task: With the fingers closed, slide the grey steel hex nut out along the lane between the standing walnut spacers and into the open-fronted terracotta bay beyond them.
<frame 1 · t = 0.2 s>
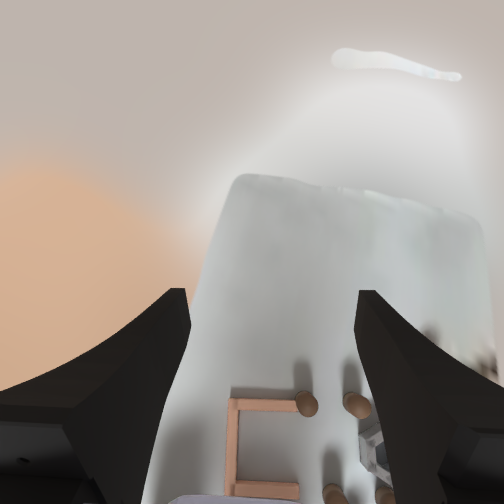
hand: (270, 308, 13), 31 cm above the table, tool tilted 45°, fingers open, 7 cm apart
parts bay: (268, 444, 39), on the table
walnut spacers: (381, 449, 38), on the table
steel nut: (381, 449, 38), on the table
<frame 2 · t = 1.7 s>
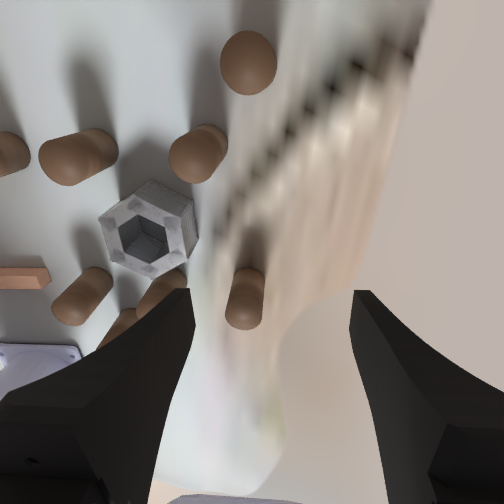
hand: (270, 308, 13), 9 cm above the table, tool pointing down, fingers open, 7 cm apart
walnut spacers: (160, 221, 22), on the table
steel nut: (160, 221, 22), on the table
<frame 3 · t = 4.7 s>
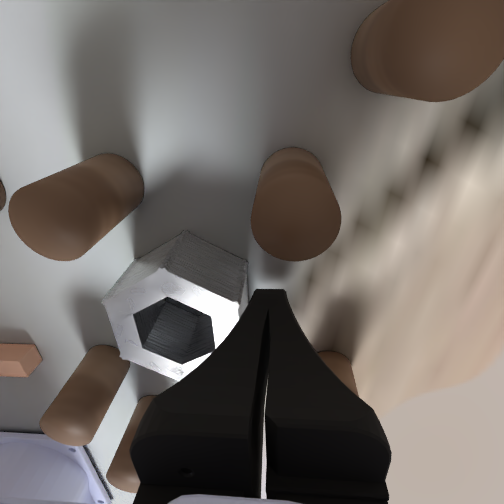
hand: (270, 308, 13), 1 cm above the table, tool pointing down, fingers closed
walnut spacers: (203, 288, 15), on the table
steel nut: (194, 287, 15), on the table, touching gripper
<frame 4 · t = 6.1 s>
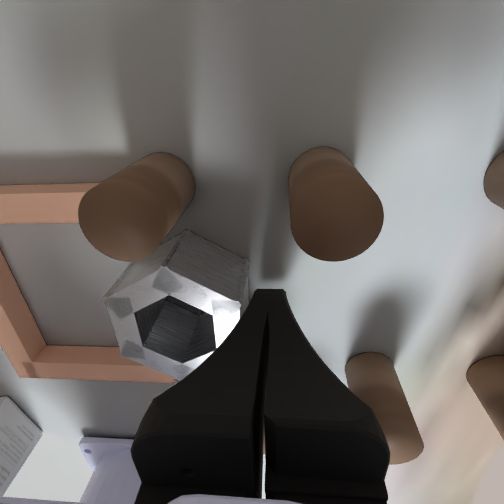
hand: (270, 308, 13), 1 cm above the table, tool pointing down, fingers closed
parts bay: (93, 287, 15), on the table
walnut spacers: (383, 289, 14), on the table
steel nut: (195, 286, 15), on the table, touching gripper
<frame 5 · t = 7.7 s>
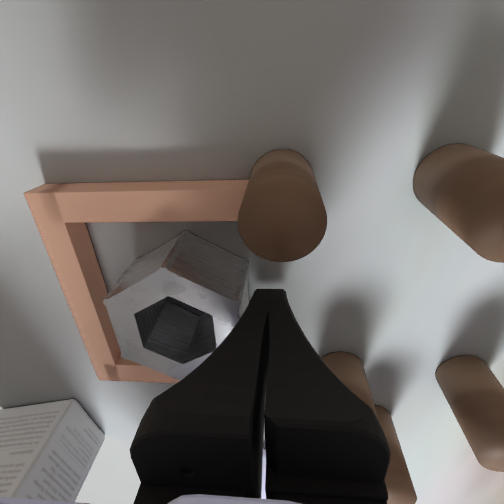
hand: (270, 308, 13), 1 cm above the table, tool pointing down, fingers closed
parts bay: (185, 288, 15), on the table
walnut spacers: (492, 291, 14), on the table
skincare box: (57, 419, 21), on the table
steel nut: (195, 287, 15), on the table, touching gripper
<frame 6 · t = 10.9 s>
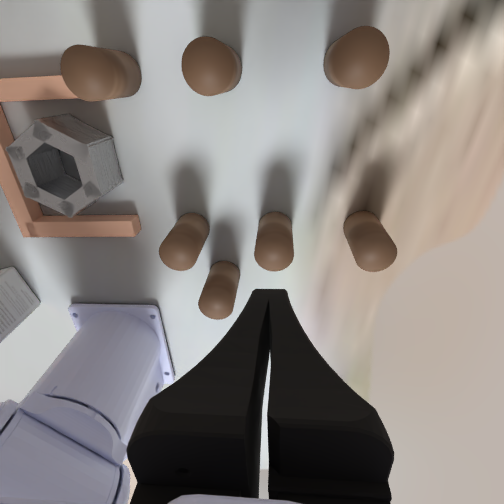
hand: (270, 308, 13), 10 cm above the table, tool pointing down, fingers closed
parts bay: (76, 161, 22), on the table
walnut spacers: (274, 156, 20), on the table
skincare box: (4, 290, 28), on the table
steel nut: (82, 160, 22), on the table
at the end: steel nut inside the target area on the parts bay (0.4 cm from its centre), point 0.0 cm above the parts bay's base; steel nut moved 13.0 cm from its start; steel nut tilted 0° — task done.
